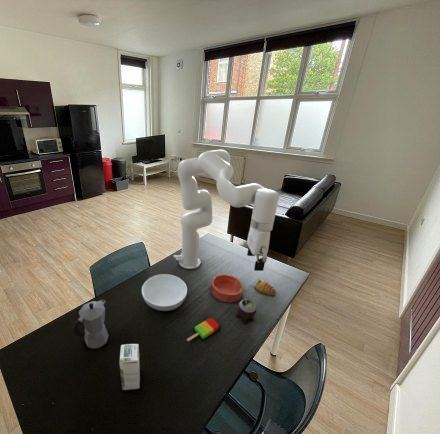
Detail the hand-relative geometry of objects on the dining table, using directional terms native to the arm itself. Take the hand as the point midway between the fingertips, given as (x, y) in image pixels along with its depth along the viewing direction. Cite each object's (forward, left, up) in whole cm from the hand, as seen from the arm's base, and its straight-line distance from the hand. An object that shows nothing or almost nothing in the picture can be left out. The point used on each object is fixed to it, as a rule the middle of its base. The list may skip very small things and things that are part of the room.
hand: (254, 262), depth 93 cm
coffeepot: (-62, -17, -27) cm, 70 cm away
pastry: (+13, +16, -27) cm, 34 cm away
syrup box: (-45, -31, -27) cm, 61 cm away
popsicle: (-20, -11, -27) cm, 35 cm away
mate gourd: (-1, -2, -27) cm, 27 cm away
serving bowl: (-36, +6, -27) cm, 45 cm away
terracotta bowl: (-6, +13, -27) cm, 30 cm away
